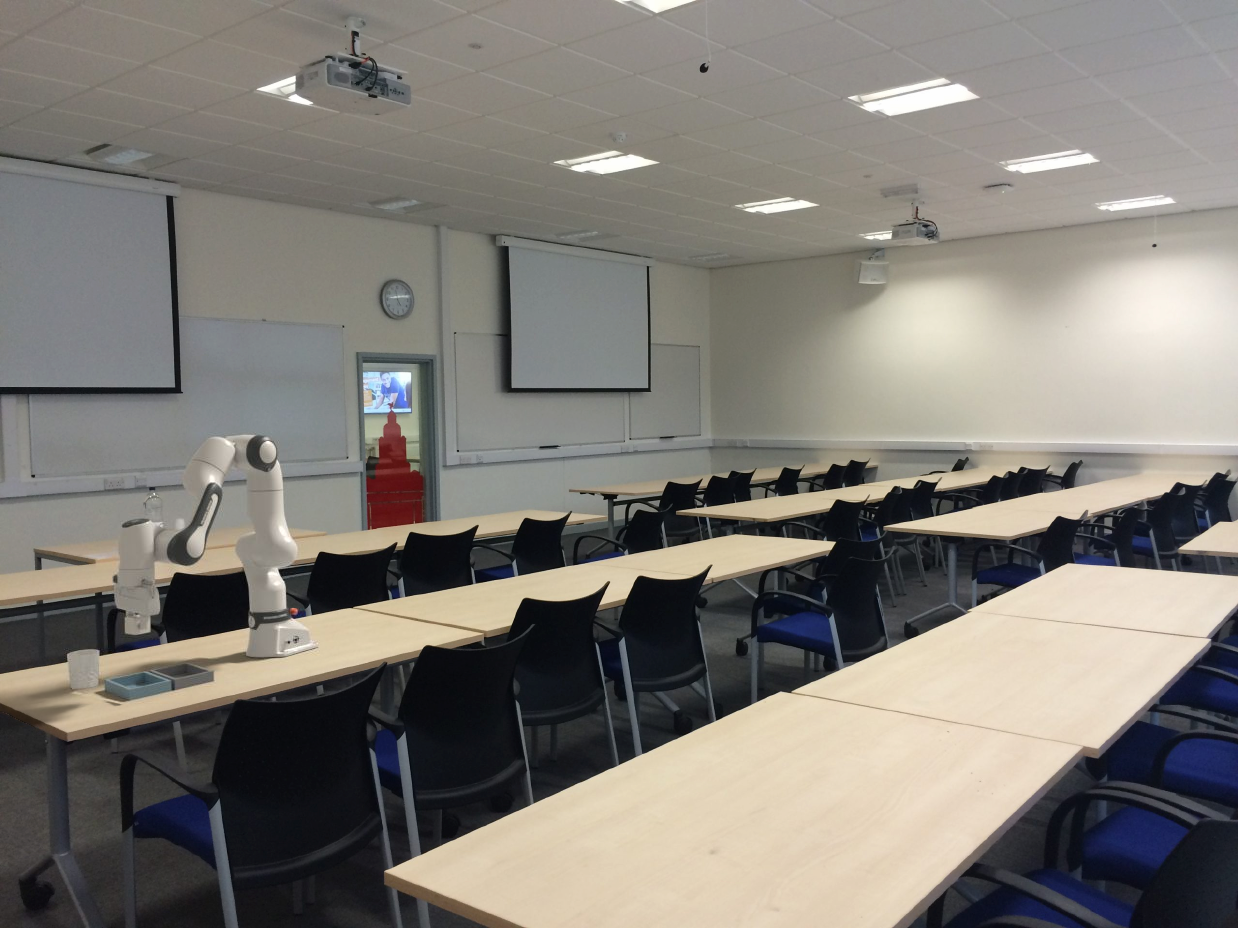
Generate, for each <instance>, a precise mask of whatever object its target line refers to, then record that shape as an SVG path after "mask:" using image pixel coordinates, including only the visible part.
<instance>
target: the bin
mask: <svg viewBox="0 0 1238 928" xmlns="http://www.w3.org/2000/svg"><path fill="white" fill-rule="evenodd" d="M172 690H173V689H171V680H168V679H166V678H163V677H160V676H157V675H155V674H152V673H149V671H146V670H145V671H141V672H136V673H131V674H126V675H122V676H116V677H112V678H108V679H107V678H106V679H104V691H106V692H108V693H110V694H113V695H115V696H117V697H120V698H123V699H125V700H126V701H127V700H128V701H129V702H131V701H134V700H139V699H143V698H147V697H153V696H155V695H157V696H158V695H161V694H165V693H169V692H172Z"/></svg>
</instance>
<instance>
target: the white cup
mask: <svg viewBox="0 0 1238 928" xmlns="http://www.w3.org/2000/svg"><path fill="white" fill-rule="evenodd" d="M66 658H67V667H68V668H67V669H68V676H69V681H70V683H69V684H70V689H71V688H72V689H73V690H81V689H88V688H93V687H96V686H98V685H99V677H100V649H99V650H98V649H93V648H91V649H82V650H81V649H80V650H75V651H72V652H69V653H67V654H66Z"/></svg>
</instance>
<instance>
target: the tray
mask: <svg viewBox="0 0 1238 928" xmlns="http://www.w3.org/2000/svg"><path fill="white" fill-rule="evenodd" d="M148 672H149V673H152V674H155V675H157V676H160V677H163V678H166V679H168V680H171V689H172V690H174V691H177V690H182V689H187V688H191V687H196V686H199V685H204V684H208V683H213V682H214V681H215V676H214V675H215V673H214V670H212V669H209V668H205V667H202V666H199V665H197V664H194V663H190V662H184V663H182V662H181V663H179V664H174V665H173V664H172V665H168V666H163V667H160V668H154V669H150V670H149V669H148Z"/></svg>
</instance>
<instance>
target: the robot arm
mask: <svg viewBox="0 0 1238 928" xmlns="http://www.w3.org/2000/svg"><path fill="white" fill-rule="evenodd" d="M231 470H234V471H244V472H245V474H246V514H247V517H248V518H249V520H250V522H251V523H252V526H253V529H254V531H252V532H248V533H245V534H243V535H241V536H240V537H239V538H238V539H237V541H236V543H235V548H234V549H235V554H236V556H237V558H238V559H239V561H241V564H242V567H243V570H244V573H245V576H246V581H247V585H248V598H249V610H248V628H249V633H248V634H249V637H248V644H247V648H246V652H245V655H246V656H247V657H249V658H250V657H251V658H273V657H274V658H282V657H284V658H285V657H288V656H291V655H295V654H298V653H301V652H305V651H309V650H312V649H316V648H318V647H319V642H317V641H315V640H312V637H311V633H310V629H309V628H308V627H307V626H305V625H304V624H302V623H300V621H298V620H296V619H295V618H293V617H292V615H294V616H296V615H298V609H297V608H294V607H292V608H290V607H287V594H286V593H287V590H286V589H287V588H286V583H285V581H284V580H283V578H282V576H281V574H280V572H279V569H283V568H286V567H289V566H291V565H293V563H294V562H295V561H296V560H297V557H298V553H299V549H298V548H299V547H298V545H297V542H295V540H294V539H293V537H292V536H291V534H290V530H289V528H288V524H287V520H286V515H285V507H284V506H285V505H284V482H283V481H284V480H283V473H282V469H281V465H280V461H279V460H278V448H277V445H276V442H275V441H274V440H273V438H271V437H270V436H266V435H260V434H258V435H256V434H255V435H254V434H241V435H240V434H239V435H233V436H232V435H227V436H222V437H221V436H211V437H208V438H207V439H205V441H204V442H203V443H202V444H201V445H200V446H199V448H198V449H197V450H196V452H195V453H194V454H193V456H192V457H191V459H190V460H189V462H188V464H187V465H186V467H185V469H184V471H183V473H182V475H181V483H182V486H183V488H184V489H185V491H186V492H187V493H188V494H190V496H192V497H193V498H195V499H196V504H195V506H194V509H193V511H192V514H191V517H190V518H189V520H188V524H186V526H185V527H183V528H181V529H174V528H173V529H172V528H166V527H163V526H161V525H157V524H156V523H154V522H152V520H151V519H150V518H137V519H136V518H135V519H131V520H127V521H125V522H123V523H122V524H121V526H120V528H119V532H118V539H117V540H118V541H117V550H118V556H119V565H118V571H117V573H115V574H113V575H112V578H111V579H112V583H113V584H114V585H113V592H114V593H113V595H114V603H115V607H116V608H117V609H119V610H123V611H125V617H128V616H134V615H136V614H137V615H139V617H140V623H138V626H139V627H138V628H139V629H140V630H145V629H147V623H148V620H149V616H150V617H151V616H155V615H156V616H157V615H159V613H160V611H161V603H160V602H161V601H160V594H159V588H157V587H156V586H155V585H154V584H156V572H155V571H156V570H155V569H156V568H155V567H156V566H155V563H156V562H157V563H164V564H172V565H173V564H174V565H179V566H184V567H189V566H194V565H195V564H197V563H198V562H199V561H200V560H201V559H202V558H203V556H204V554H205V552H206V546H207V541H208V537H209V533H210V531H211V530H212V526H213V524H214V521H215V519H216V516H217V514H218V511H219V508H220V505H221V503H222V499H223V490H222V486H223V484H224V483H225V480H226V478H227V476H228V474H229V472H230V471H231Z"/></svg>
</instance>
